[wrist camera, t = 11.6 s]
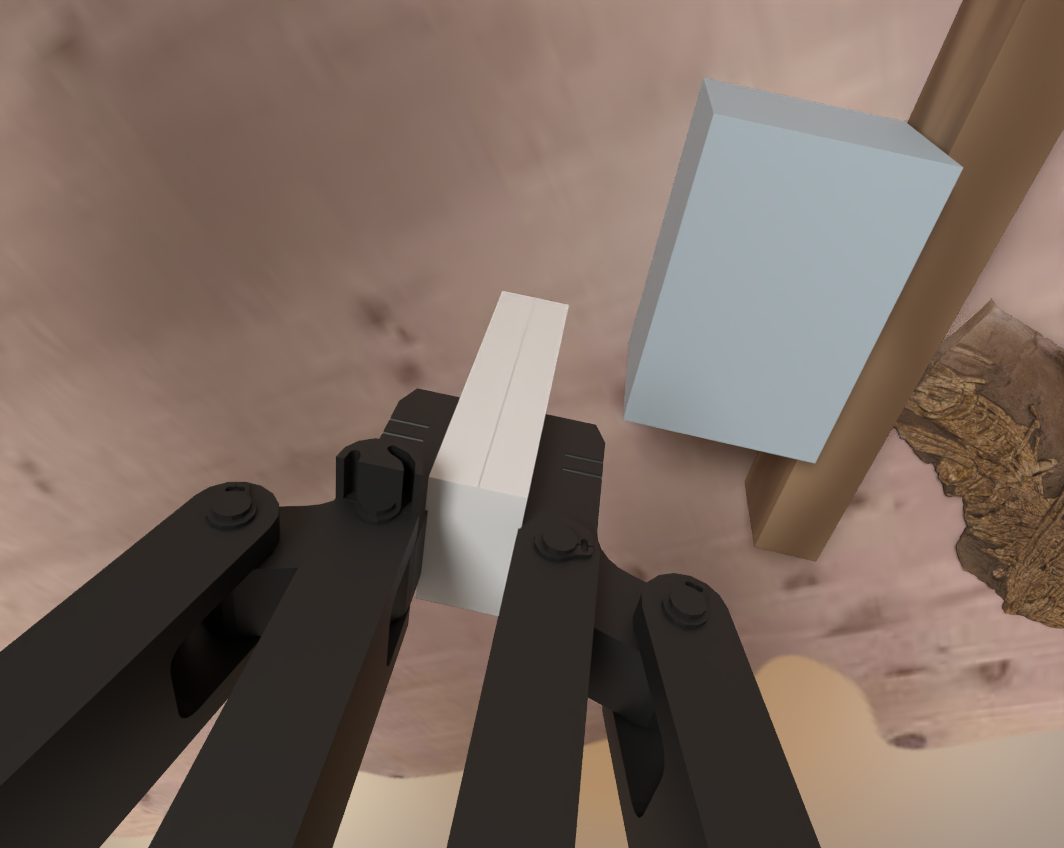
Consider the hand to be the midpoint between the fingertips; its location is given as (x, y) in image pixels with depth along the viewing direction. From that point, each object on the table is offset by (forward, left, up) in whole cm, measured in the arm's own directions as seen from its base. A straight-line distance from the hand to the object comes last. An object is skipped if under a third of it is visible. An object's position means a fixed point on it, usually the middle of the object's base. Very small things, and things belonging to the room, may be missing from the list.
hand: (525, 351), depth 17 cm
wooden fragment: (+27, -11, -18) cm, 35 cm away
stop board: (+13, 0, -18) cm, 22 cm away
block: (+8, -2, -18) cm, 19 cm away
